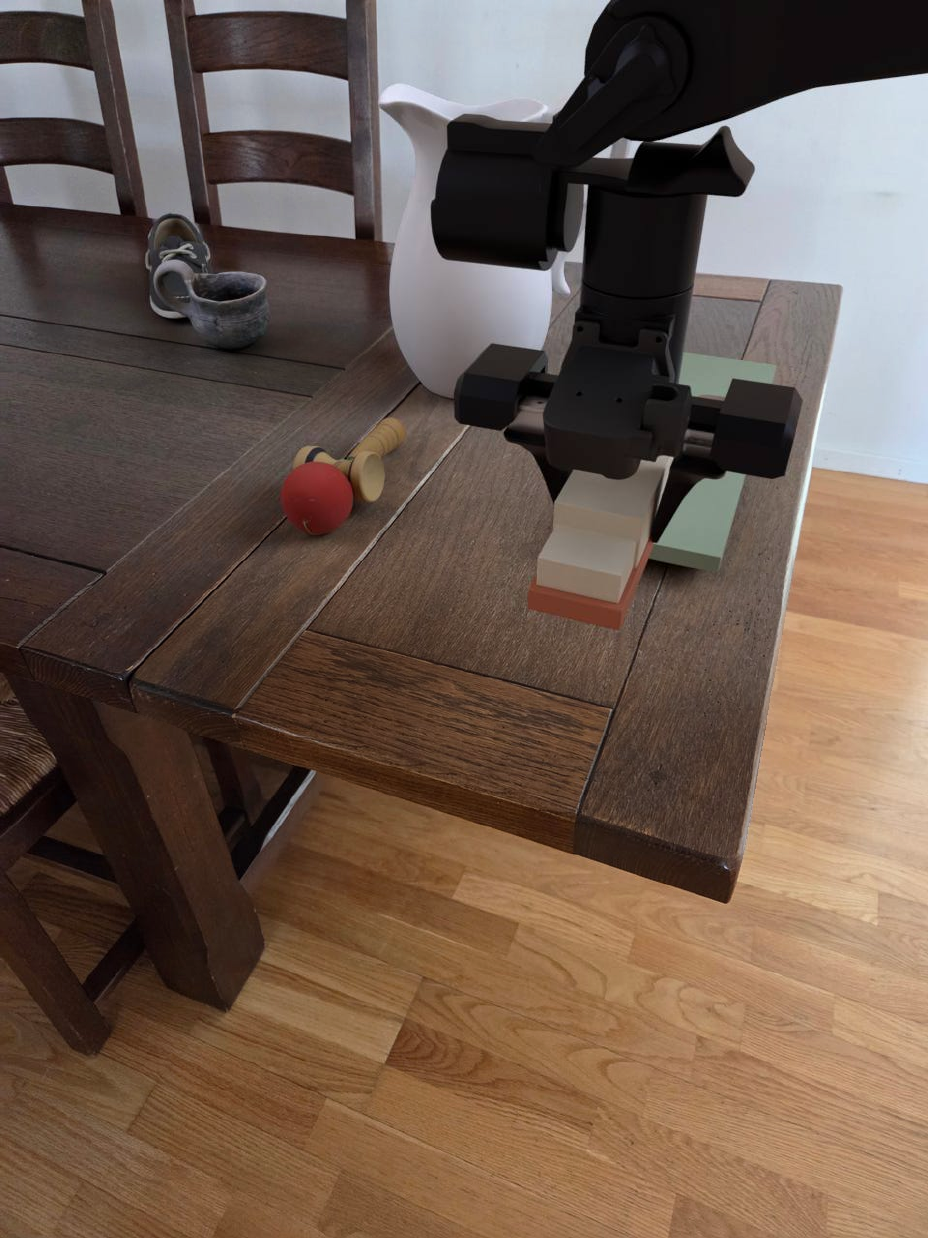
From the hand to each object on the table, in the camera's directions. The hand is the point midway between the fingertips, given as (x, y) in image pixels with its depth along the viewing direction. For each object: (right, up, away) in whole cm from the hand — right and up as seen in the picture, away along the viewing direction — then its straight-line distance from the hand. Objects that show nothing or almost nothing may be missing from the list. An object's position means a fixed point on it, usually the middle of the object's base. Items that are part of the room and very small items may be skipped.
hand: (609, 529), depth 54 cm
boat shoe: (-47, +39, +63) cm, 88 cm away
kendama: (-19, +6, +24) cm, 32 cm away
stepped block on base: (0, -1, 0) cm, 1 cm away
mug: (-38, +27, +50) cm, 69 cm away
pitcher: (-5, +21, +42) cm, 47 cm away
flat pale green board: (+12, +9, +27) cm, 31 cm away
